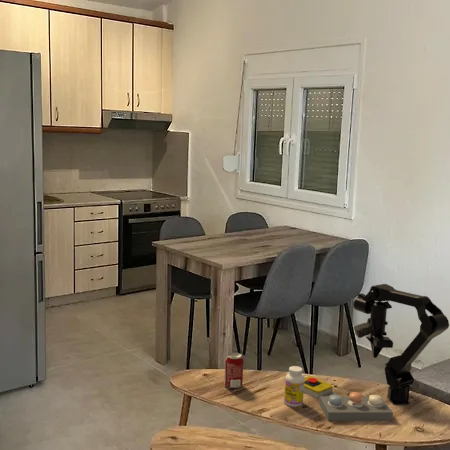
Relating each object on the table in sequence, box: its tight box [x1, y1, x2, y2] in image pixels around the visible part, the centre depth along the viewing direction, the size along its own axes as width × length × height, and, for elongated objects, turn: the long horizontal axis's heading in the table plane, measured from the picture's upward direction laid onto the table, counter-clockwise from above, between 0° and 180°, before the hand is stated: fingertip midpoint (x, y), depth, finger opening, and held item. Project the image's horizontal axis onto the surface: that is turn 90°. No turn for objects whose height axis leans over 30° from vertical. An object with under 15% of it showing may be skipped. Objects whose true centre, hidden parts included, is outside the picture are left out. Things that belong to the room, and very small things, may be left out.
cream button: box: [369, 394, 383, 405], centre depth 201 cm, size 4×4×2 cm
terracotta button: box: [348, 391, 364, 403], centre depth 200 cm, size 4×4×2 cm
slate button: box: [329, 394, 343, 405], centre depth 199 cm, size 4×4×2 cm
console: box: [318, 395, 394, 422], centre depth 200 cm, size 22×12×3 cm, turn 95°
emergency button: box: [304, 375, 338, 400], centre depth 217 cm, size 9×4×15 cm
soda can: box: [223, 352, 244, 390], centre depth 217 cm, size 7×7×12 cm
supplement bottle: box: [283, 365, 305, 408], centre depth 205 cm, size 7×7×13 cm
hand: (374, 357), depth 220 cm, fingers closed
